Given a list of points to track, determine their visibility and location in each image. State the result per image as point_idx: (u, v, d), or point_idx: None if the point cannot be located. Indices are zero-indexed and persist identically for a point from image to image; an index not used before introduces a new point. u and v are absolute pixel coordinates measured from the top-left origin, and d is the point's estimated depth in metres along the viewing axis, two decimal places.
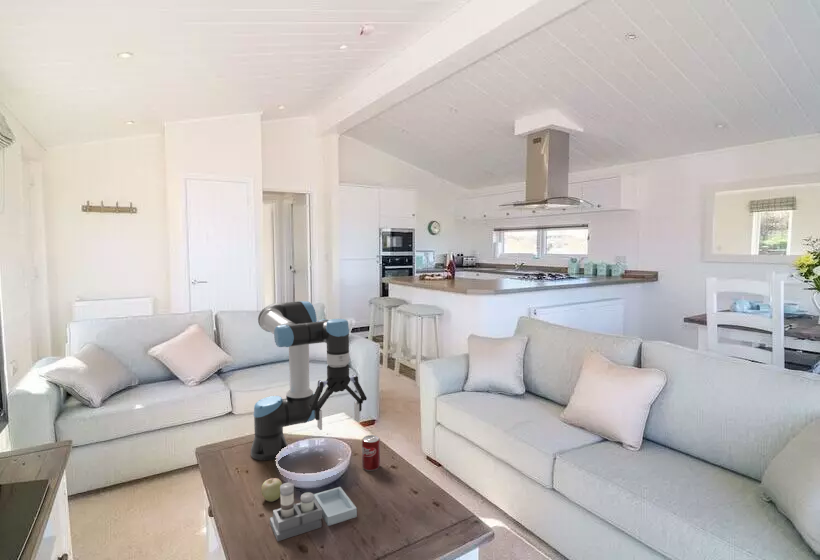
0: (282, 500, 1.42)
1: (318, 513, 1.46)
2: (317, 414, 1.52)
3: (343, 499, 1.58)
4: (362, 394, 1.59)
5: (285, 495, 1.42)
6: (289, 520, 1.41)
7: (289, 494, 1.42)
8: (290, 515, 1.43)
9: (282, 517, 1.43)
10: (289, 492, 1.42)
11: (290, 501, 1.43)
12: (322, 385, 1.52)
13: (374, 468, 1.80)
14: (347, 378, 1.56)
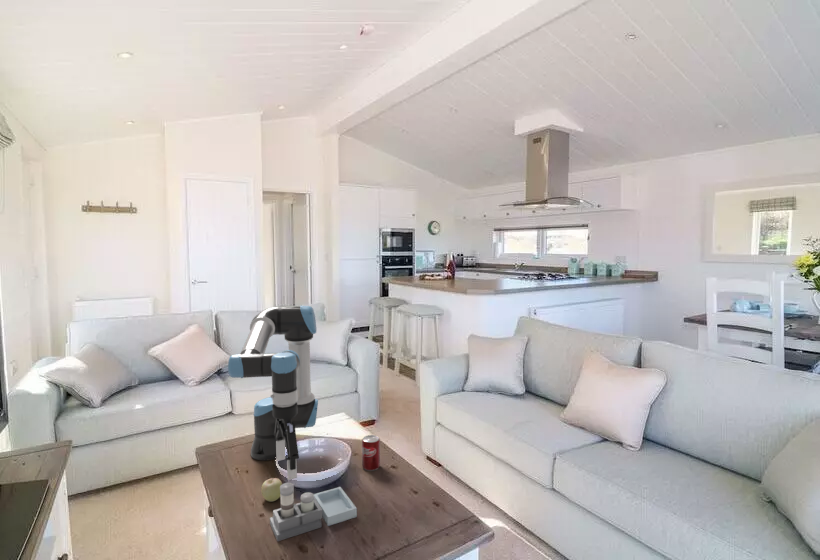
0: (282, 500, 1.42)
1: (318, 513, 1.46)
2: None
3: (343, 499, 1.58)
4: (289, 451, 1.34)
5: (285, 495, 1.42)
6: (289, 520, 1.41)
7: (289, 494, 1.42)
8: (290, 515, 1.43)
9: (282, 517, 1.43)
10: (289, 492, 1.42)
11: (290, 501, 1.43)
12: None
13: (374, 468, 1.80)
14: (284, 422, 1.38)
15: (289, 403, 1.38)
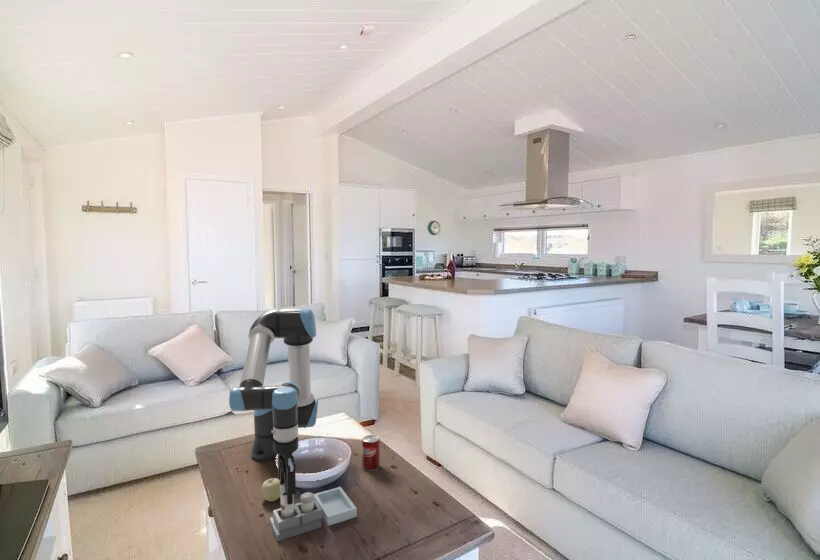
0: (282, 500, 1.42)
1: (318, 513, 1.46)
2: None
3: (343, 499, 1.58)
4: (287, 487, 1.38)
5: None
6: (289, 520, 1.41)
7: None
8: (290, 515, 1.43)
9: (282, 517, 1.43)
10: None
11: None
12: (277, 453, 1.47)
13: (374, 468, 1.80)
14: (285, 457, 1.39)
15: (290, 438, 1.39)
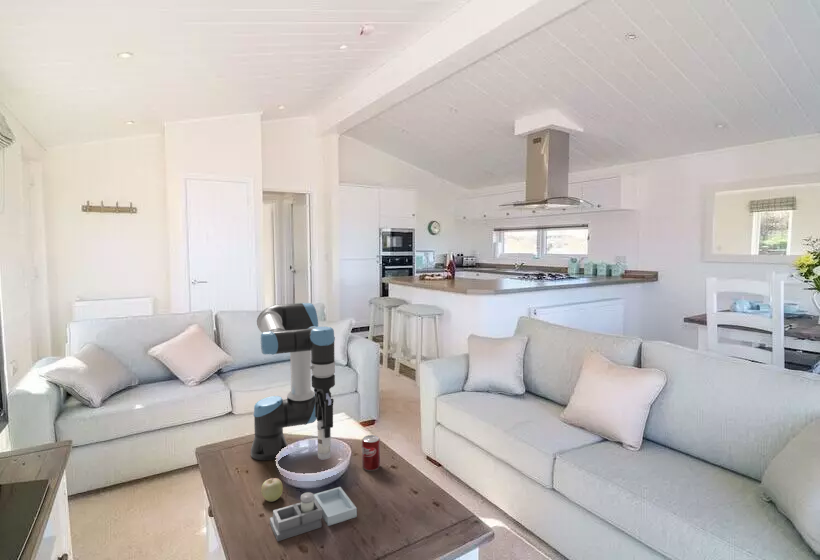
0: (319, 434, 1.48)
1: (318, 513, 1.46)
2: None
3: (343, 499, 1.58)
4: (325, 420, 1.44)
5: None
6: (289, 520, 1.41)
7: None
8: (327, 449, 1.49)
9: (319, 451, 1.49)
10: None
11: None
12: (314, 392, 1.53)
13: (374, 468, 1.80)
14: (322, 392, 1.46)
15: (328, 374, 1.45)
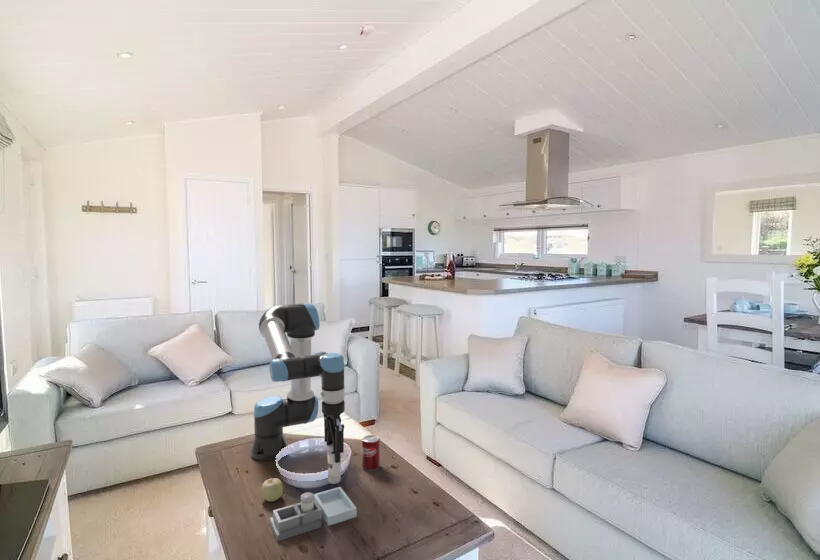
0: (330, 459, 1.51)
1: (318, 513, 1.46)
2: None
3: (343, 499, 1.58)
4: (335, 446, 1.47)
5: None
6: (289, 520, 1.41)
7: None
8: (337, 473, 1.52)
9: (330, 475, 1.52)
10: None
11: None
12: (324, 416, 1.56)
13: (374, 468, 1.80)
14: (333, 418, 1.49)
15: (338, 400, 1.48)
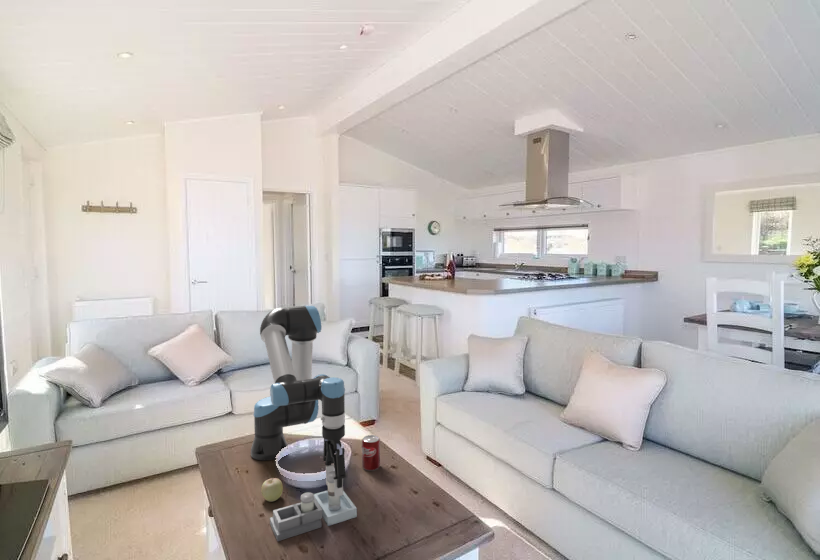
0: (329, 487, 1.52)
1: (318, 513, 1.46)
2: None
3: (343, 499, 1.58)
4: (337, 471, 1.47)
5: (333, 482, 1.52)
6: (289, 520, 1.41)
7: None
8: (337, 501, 1.53)
9: (330, 503, 1.53)
10: None
11: None
12: (324, 438, 1.57)
13: (374, 468, 1.80)
14: (333, 443, 1.49)
15: (338, 425, 1.49)
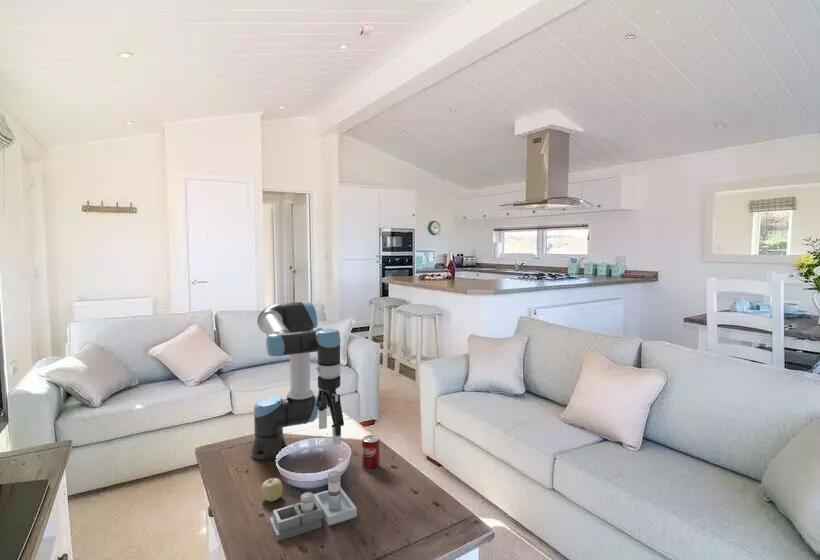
0: (330, 487, 1.52)
1: (318, 513, 1.46)
2: None
3: (343, 499, 1.58)
4: (335, 418, 1.45)
5: (333, 482, 1.52)
6: (289, 520, 1.41)
7: (337, 481, 1.52)
8: (337, 501, 1.53)
9: (330, 503, 1.53)
10: (337, 479, 1.52)
11: (337, 488, 1.53)
12: (319, 387, 1.57)
13: (374, 468, 1.80)
14: (329, 393, 1.50)
15: (334, 375, 1.49)
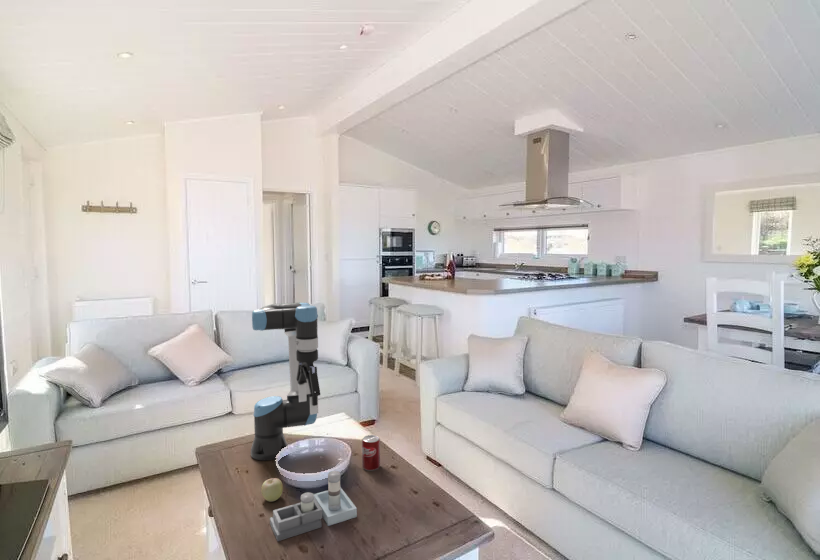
0: (330, 487, 1.52)
1: (318, 513, 1.46)
2: None
3: (343, 499, 1.58)
4: (311, 388, 1.54)
5: (333, 482, 1.52)
6: (289, 520, 1.41)
7: (337, 481, 1.52)
8: (337, 501, 1.53)
9: (330, 503, 1.53)
10: (337, 479, 1.52)
11: (337, 488, 1.53)
12: (299, 362, 1.66)
13: (374, 468, 1.80)
14: (306, 365, 1.58)
15: (311, 348, 1.58)
